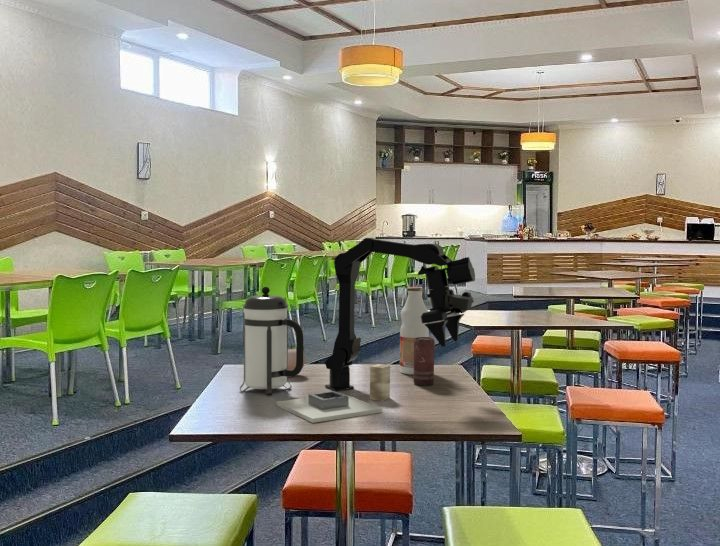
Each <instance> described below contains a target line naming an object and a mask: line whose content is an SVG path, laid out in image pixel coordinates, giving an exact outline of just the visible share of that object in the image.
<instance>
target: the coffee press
mask: <svg viewBox="0 0 720 546" xmlns="http://www.w3.org/2000/svg"><path fill="white" fill-rule="evenodd" d="M270 291H271V290H270V288H269V287H268V286H263V287H262V289H261V293H262V294H260V295H253V296H252V295H251V296H249V297H248V298H247V299H245V301H244V304H243V305H242V309H243V314H244V317H243V382H242V384H241V385H240V386H239V391H240V393H244V392H246V391H247V390H248V389H255V390H265V391H266V396H268V397H269V396H273V390H274V389H275V390H276V389H279V388H281V387H285V389H287V390H291V389H292V385H291V383H290V382H289V379H288V377H289V378H291V377H294V376H295V377H296V376H297V375H299V374H300V373H301V372H302V370H303V368H304V367H303V353H304V351H303V349H304V334H303V329H302V326H301V325H300V324H299V322H297V321H295V320H293V319H288V316H287V315H288V314H287V313H288V308H289V304H288V303H287V301H286V299H285V298H283V297H282V296H280V295H272V294H270ZM288 327H291V328H292V329H293V330H294V332H295V337H296V338H295V339H296V341H295V343H296V344H295V345H296V346H295V347H296V367H295V369H294V370H292V371H291V370H288V348H289V346H288V345H289V344H288V343H289V342H288V341H289V340H288V336H289V335H288ZM302 367H303V368H302ZM287 383H288V384H289V387H287V386H285V385H286V384H287ZM244 385H245V386H246V388H245V389H242V388H243V386H244ZM241 389H242V390H241Z"/></svg>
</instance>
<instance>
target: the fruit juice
mask: <svg viewBox="0 0 720 546" xmlns="http://www.w3.org/2000/svg"><path fill="white" fill-rule="evenodd" d="M407 294H408V295H407V298H406V301H405V304H404V306H403V307H402V309H401V311H400V319H401V326H400V330H399V331H400V332H399V372H400V373H402V374H405V375H413V376H414V340H415V338H417V337H429V338H430V333H429V332H430V330H429V329H428V328H427V326H425V324H427V323H423V324H422V321H421V316H422V314H423V313H425V312H428V311H429V310H428V308H427V306H426V305H425V302H424V299H423V295H422V294H423V287H422V286H408V287H407Z"/></svg>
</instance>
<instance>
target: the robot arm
mask: <svg viewBox="0 0 720 546" xmlns="http://www.w3.org/2000/svg"><path fill="white" fill-rule="evenodd" d="M373 253H379V254H385V255H392V256H398V257H404V258H409V259H411V260H414V261H416V262H419V263H422V264H424V265H421V267H420V270H419V271H418V272H417V275H418V276H421V275H423V276H425V280H426V285H427V289H428V293H427V294H426V297H427V299H430V304H431V308H429V310H428V312H425V313H423V314H422V316H421V321H422V324H423V323H427V324H425V326H427V328H428V329H429V332H431V334H432V336H433V337H434V339H436V341H437V342H438V343H439V345H440V346H441V347H446V346H447V343H446V342H447V341H446V329H447V331H448V332H449V335H450V337H451V339H452V341H453V342H457V341H459V327H460V320H461V319H462V318H464V316H465V313H466V312H467V311H468V310H472V306H473V304H474V301H475V300H474V298H473V296H472V293H471V292H469V291H463V293H462V294H455V293H454V290H453V289H450V285H449V283H452V284H453V285H454V286H456V285H462V284H467V283H472V282H475V281H476V273H475V268H474V266H473V264H472V261H471V259H470V257H469V256H468V257H462V258H461V259H457V260H452V259H451V258H450V257H448V256H447V255H446V254H445V252H444V249H443V247H442V246H441V245H440V244H438V243H418V244H416V243H415V244H411V243H405V242H397V241H390V240H384V239H377V238H375V237H365V238H363V239H362V240H361V241H360V242H358V243H357V244H356V245H354V246H353V247H351V248H350V249H347V250H346V251H345V252H340V253H339V254H338V255H337V256H335V258H334V260H333V264H334V272H335V275H336V279H337V281H338V285H339V287H338V289H339V290H338V331H337V335H336V338H335V339H334V340H335V341H334V344H333V348H332V349H333V350H332V354H331V355H330V356H329V357H328V358H327V359H326V360H325V361H324V364H325V367H326V369H328V370H329V384H324V387H325V388H327V389H329V390H331V391H343V390H349V389H350V390H351V389H355V386H353V385H351V383H350V382H351V379H350V378H351V375H350V374H351V373H350V366H352V365H353V363H354V361H355V360H356V359H357V358H358V357H359V353H360V352H361V351H362V349H361V342H362V341H361V340H362V337H357V336H356V333H355V305H356V304H355V298H356V296H355V294H356V293H355V292H356V289H355V288H356V282H357V279H358V277H359V273H360V268H361V264H362V262H363V261H365V260H366V259H367V258H368V257H369V256H371V254H373ZM426 265H428V267H427V266H426ZM429 265H432V266H430V267H429ZM443 266H447V267H444V268H439V267H443ZM445 327H446V328H445Z"/></svg>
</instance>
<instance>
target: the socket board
mask: <svg viewBox="0 0 720 546" xmlns="http://www.w3.org/2000/svg"><path fill="white" fill-rule="evenodd" d="M339 393H340V392H339ZM340 394H343V395H346V396H348V397H349V406H347V407H340V408H333V409H326V410H322V409H319V408H317V407H315V406H312V405H310V404H308V397H301V398H295V399H287V400H281V401H279V400H278V401H276V407H278V408H281V409H283V410H285V411H287V412H289V413H291V414H293V415H295V416H297V417H300V418H301V419H303V420H305V421H307V422H310V423H312V424H315V423H319V422H321V423H322V422H326V421H333V420H334V421H335V420H340V419H347V418H352V417H353V418H354V417H360V416H361V417H362V416H367V415H373V414H378V413H379V414H380V413H383V408H382V407H379V406H378V405H374V404H371V403H369V402H367V401H363V400H361V399H358V398H356V397H353V396H350V395H349V394H346V393H343V392H341V393H340Z"/></svg>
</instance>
